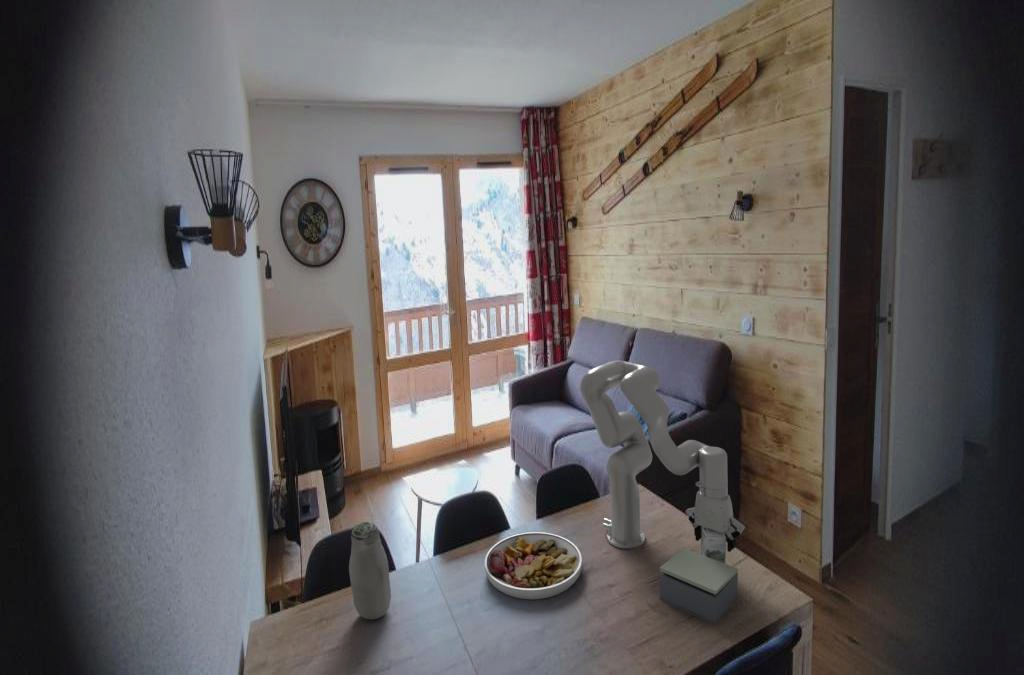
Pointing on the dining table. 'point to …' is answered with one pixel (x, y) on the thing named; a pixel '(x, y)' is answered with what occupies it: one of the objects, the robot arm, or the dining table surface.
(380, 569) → the grey rounded cylinder
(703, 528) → the syrup box
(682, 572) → the lid
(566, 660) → the dining table surface
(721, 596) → the storage box
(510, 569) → the bowl
